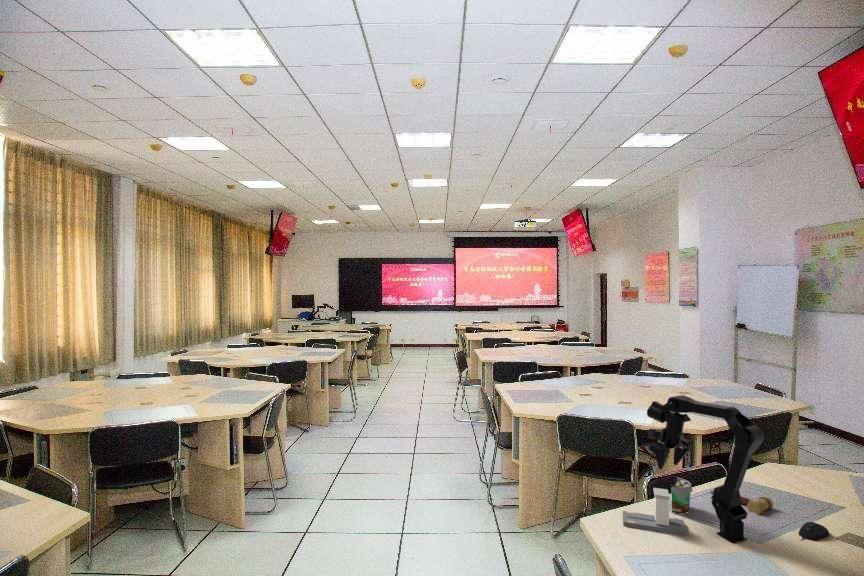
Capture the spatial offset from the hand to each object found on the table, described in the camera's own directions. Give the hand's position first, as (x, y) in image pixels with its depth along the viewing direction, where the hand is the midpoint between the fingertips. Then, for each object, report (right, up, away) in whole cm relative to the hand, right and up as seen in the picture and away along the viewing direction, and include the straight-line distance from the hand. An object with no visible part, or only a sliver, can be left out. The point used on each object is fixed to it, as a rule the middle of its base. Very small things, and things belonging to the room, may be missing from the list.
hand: (667, 466), depth 179 cm
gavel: (+31, -17, +7) cm, 36 cm away
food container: (+6, -16, 0) cm, 17 cm away
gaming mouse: (+39, -17, -19) cm, 47 cm away
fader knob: (-9, -14, -13) cm, 21 cm away
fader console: (-11, -16, -12) cm, 23 cm away
